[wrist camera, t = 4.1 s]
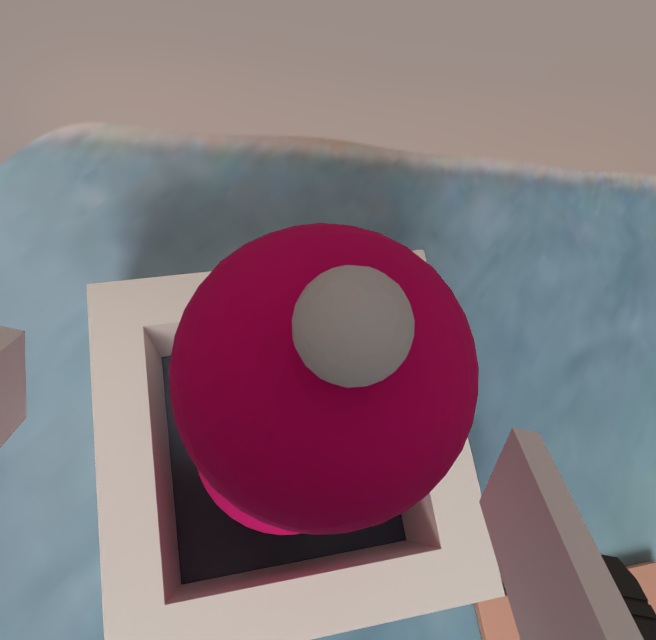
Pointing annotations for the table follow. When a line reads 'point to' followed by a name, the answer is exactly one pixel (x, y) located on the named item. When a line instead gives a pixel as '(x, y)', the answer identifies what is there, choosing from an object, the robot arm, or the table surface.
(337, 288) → the pepper mill
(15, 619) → the table surface
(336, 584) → the holder collar
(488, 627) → the rubber mat
